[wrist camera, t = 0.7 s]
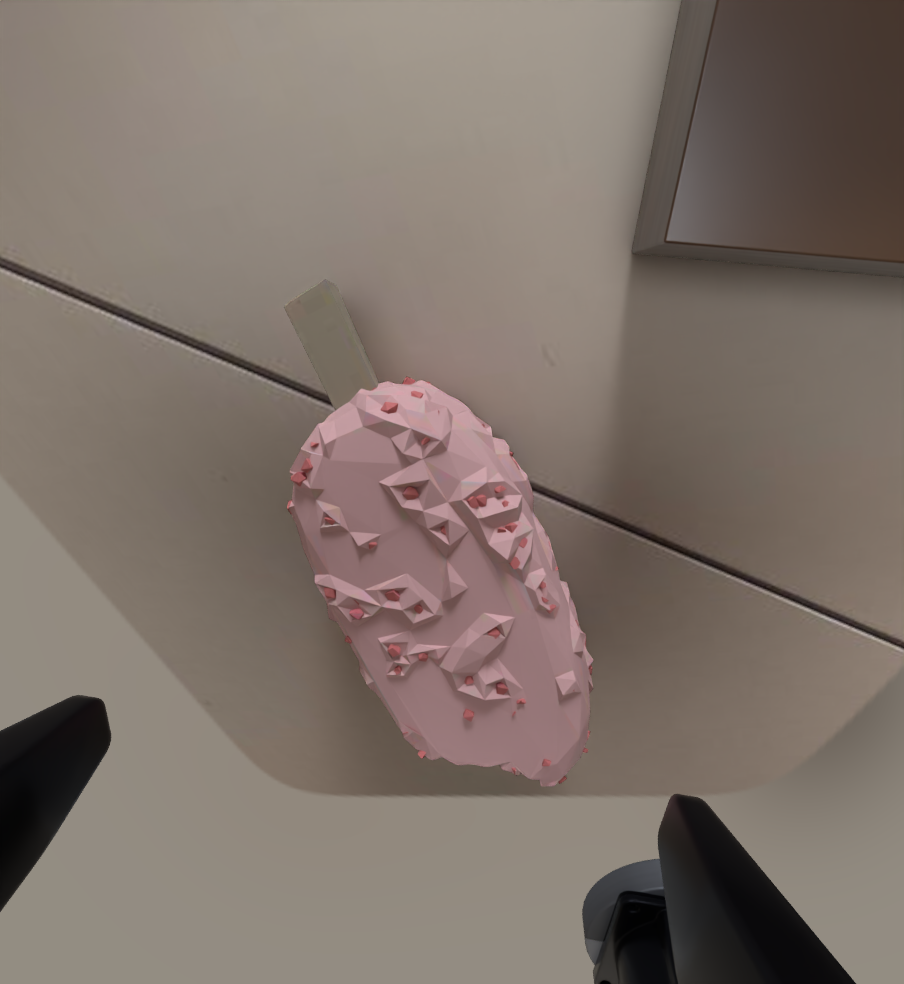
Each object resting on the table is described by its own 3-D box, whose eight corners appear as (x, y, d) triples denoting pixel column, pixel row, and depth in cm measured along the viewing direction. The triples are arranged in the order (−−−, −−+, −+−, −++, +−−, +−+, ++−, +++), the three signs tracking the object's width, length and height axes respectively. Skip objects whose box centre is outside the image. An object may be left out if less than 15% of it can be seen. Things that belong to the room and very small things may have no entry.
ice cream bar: (416, 213, 9) (643, 792, 13) (442, 242, 13) (611, 681, 17) (144, 349, 11) (426, 838, 15) (242, 338, 15) (442, 725, 19)
